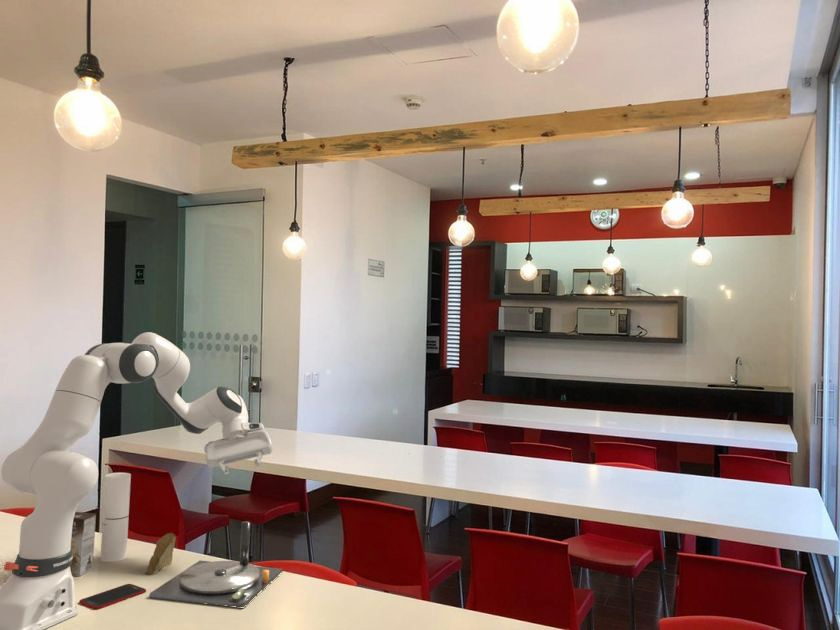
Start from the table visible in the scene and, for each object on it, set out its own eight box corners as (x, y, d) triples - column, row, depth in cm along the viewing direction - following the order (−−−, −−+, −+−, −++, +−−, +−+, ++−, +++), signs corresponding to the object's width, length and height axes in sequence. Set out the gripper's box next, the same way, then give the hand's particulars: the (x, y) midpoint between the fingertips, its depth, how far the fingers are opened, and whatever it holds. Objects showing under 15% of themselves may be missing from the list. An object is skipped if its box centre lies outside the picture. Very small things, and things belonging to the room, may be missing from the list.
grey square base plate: (243, 608, 166) (244, 597, 166) (149, 597, 170) (150, 586, 170) (282, 573, 191) (282, 563, 192) (199, 564, 196) (200, 554, 196)
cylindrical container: (116, 563, 194) (120, 478, 195) (95, 560, 196) (99, 476, 196) (131, 555, 201) (135, 473, 202) (110, 553, 203) (115, 471, 203)
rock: (155, 570, 184) (185, 556, 192) (142, 542, 186) (173, 530, 194) (139, 585, 189) (170, 571, 197) (127, 558, 192) (158, 545, 200)
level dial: (239, 597, 169) (241, 544, 169) (164, 589, 172) (166, 537, 173) (270, 569, 189) (273, 522, 190) (203, 562, 193) (205, 516, 193)
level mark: (267, 583, 180) (267, 572, 180) (260, 582, 180) (261, 571, 180) (269, 581, 182) (270, 570, 182) (263, 580, 182) (264, 569, 182)
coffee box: (49, 574, 184) (52, 516, 184) (64, 566, 190) (67, 510, 190) (80, 576, 183) (83, 518, 183) (93, 568, 189) (97, 512, 190)
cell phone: (77, 604, 165) (77, 600, 165) (129, 586, 178) (129, 583, 178) (96, 611, 161) (96, 607, 161) (147, 593, 174) (147, 589, 174)
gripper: (201, 436, 206) (205, 471, 196) (267, 422, 212) (273, 454, 201) (205, 449, 210) (208, 483, 200) (269, 435, 216) (276, 467, 205)
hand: (241, 469), depth 201 cm, fingers open, 8 cm apart
